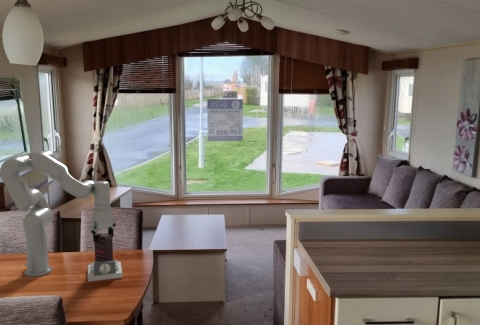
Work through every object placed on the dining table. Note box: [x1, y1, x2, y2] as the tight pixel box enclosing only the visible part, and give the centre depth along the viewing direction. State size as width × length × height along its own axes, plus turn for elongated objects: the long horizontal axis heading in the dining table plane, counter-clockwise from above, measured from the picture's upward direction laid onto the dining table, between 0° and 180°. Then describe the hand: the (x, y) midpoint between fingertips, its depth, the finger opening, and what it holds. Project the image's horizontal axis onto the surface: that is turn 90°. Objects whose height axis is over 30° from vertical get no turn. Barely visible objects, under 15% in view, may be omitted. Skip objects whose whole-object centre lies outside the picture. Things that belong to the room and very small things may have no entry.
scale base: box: [87, 259, 123, 282], centre depth 218 cm, size 16×16×8 cm
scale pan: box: [90, 259, 119, 273], centre depth 220 cm, size 11×13×1 cm
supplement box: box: [93, 232, 114, 262], centre depth 219 cm, size 9×5×16 cm, turn 57°
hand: (103, 239), depth 218 cm, fingers open, 9 cm apart
